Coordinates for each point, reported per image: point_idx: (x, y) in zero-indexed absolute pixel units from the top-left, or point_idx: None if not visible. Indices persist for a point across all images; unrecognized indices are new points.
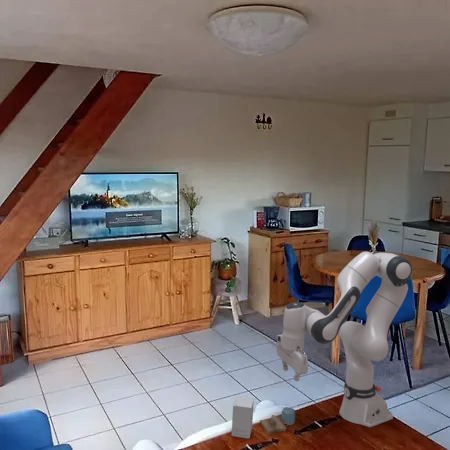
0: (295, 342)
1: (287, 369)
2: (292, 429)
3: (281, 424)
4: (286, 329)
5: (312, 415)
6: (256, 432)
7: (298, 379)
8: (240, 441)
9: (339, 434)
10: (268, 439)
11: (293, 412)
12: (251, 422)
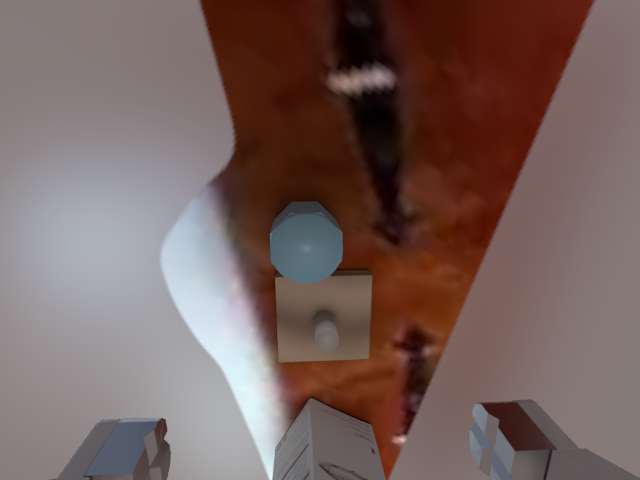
0: None
1: (157, 436)
2: (367, 238)
3: (338, 286)
4: None
5: (280, 64)
6: (340, 388)
7: (541, 422)
8: None
9: (489, 17)
10: (399, 362)
11: (333, 232)
12: (362, 462)
